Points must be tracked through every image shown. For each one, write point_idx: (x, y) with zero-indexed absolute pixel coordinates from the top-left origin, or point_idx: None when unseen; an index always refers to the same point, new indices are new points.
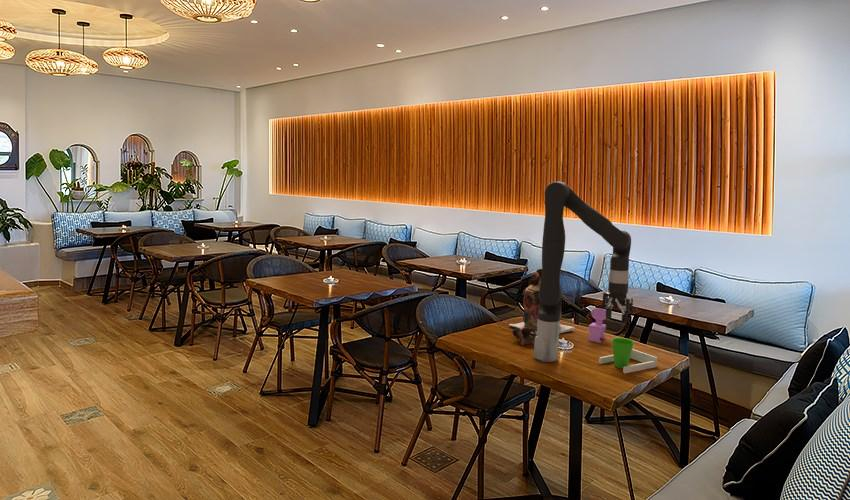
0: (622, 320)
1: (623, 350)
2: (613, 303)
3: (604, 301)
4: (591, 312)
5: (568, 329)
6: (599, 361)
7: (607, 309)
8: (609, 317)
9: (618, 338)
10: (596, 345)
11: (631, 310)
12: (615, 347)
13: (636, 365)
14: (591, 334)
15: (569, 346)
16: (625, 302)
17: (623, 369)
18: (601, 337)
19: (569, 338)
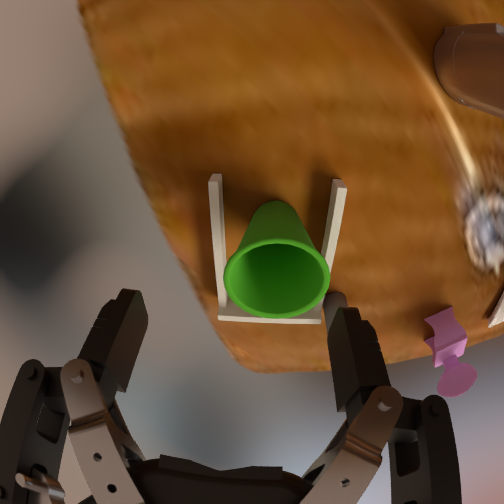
0: (117, 305)
1: (245, 237)
2: (257, 495)
3: (431, 462)
4: (475, 372)
5: (496, 310)
6: (340, 181)
7: (369, 391)
8: (333, 329)
9: (317, 296)
10: (425, 298)
11: (46, 408)
12: (282, 229)
13: (212, 235)
14: (451, 321)
15: (474, 234)
16: (21, 477)
17: (218, 178)
18: (432, 338)
19: (486, 281)
